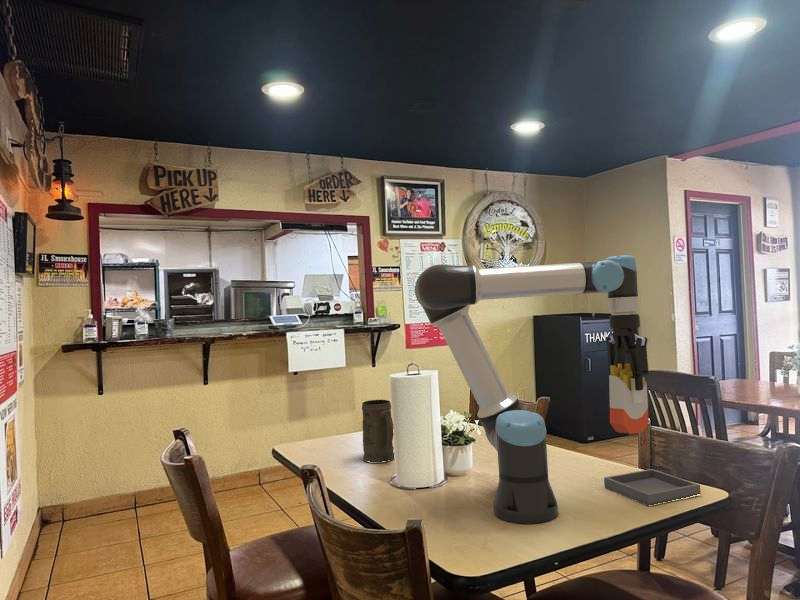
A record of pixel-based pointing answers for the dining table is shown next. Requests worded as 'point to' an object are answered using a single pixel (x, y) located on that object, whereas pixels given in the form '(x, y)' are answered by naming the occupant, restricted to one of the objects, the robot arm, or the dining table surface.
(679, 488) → the serving tray
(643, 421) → the french fries container
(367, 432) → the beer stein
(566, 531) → the dining table surface
